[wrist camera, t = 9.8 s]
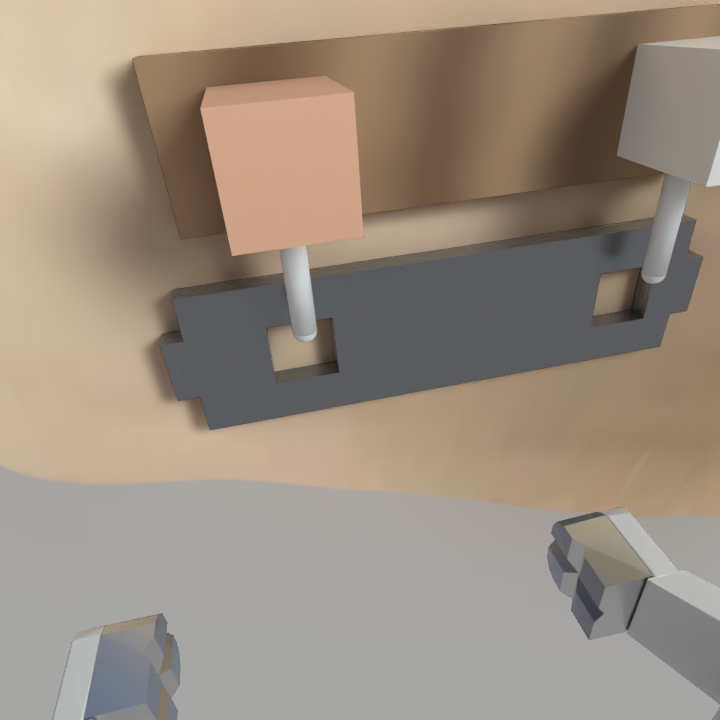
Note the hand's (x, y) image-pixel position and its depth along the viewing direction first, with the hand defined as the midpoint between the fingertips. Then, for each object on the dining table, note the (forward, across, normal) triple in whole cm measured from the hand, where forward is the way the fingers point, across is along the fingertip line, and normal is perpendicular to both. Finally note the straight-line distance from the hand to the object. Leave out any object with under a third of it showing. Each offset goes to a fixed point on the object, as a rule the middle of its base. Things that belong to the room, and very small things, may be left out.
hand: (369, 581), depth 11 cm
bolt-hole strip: (+15, -7, +3) cm, 17 cm away
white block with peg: (+14, -16, -3) cm, 21 cm away
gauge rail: (+15, -7, -6) cm, 18 cm away
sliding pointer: (+14, 0, -3) cm, 14 cm away
